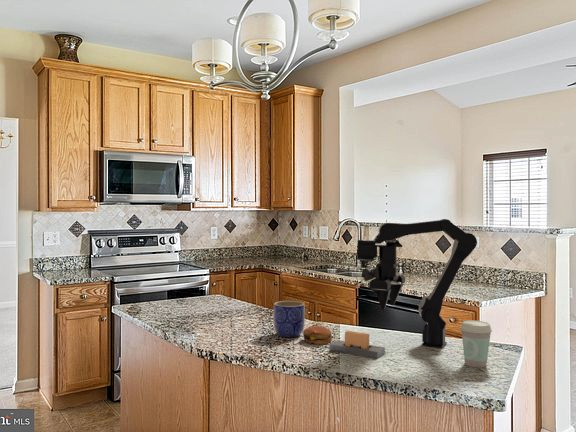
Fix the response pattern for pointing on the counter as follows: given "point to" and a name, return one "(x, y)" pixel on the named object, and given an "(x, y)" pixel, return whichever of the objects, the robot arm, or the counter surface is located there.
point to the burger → (317, 335)
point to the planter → (289, 318)
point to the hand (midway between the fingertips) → (387, 307)
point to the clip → (357, 339)
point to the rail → (357, 349)
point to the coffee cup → (475, 342)
